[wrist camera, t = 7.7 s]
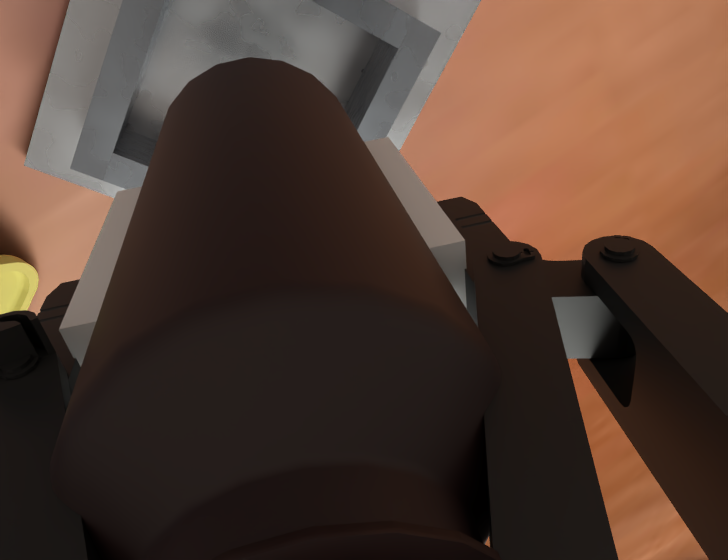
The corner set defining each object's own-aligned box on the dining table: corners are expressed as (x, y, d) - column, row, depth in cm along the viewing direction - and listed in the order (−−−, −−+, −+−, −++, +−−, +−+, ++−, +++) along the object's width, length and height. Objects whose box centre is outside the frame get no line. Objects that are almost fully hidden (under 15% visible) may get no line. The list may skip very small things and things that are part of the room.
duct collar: (476, -4, 32) (512, 7, 28) (329, 270, 39) (340, 310, 35) (134, -218, 25) (115, -246, 21) (28, 160, 32) (-2, 194, 28)
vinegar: (219, 10, 19) (120, 798, 2) (389, 124, 22) (956, 834, 5) (125, 185, 21) (-309, 1271, 4) (291, 267, 24) (439, 1100, 7)
